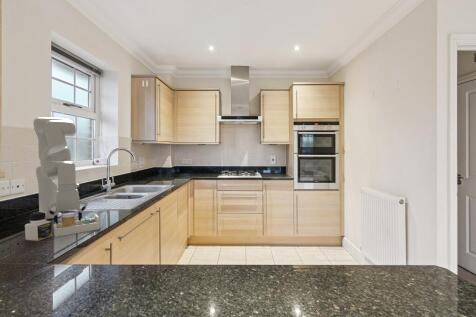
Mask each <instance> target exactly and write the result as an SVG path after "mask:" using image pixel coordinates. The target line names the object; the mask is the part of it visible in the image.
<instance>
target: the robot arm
mask: <svg viewBox="0 0 476 317" xmlns="http://www.w3.org/2000/svg"><path fill="white" fill-rule="evenodd" d="M32 122H33V124H32V126H33V129H34V132H35V134H36V136H37V137H36V138H37V141H38V143H37V145H38V159H39V162H40V165H38V166H37V167H36V168H35V175H36V180H37V185H38V206H39V207H38V208H39V211H43V212H46V220H49V219H53V222H54V223H55V224H58V223H59V222H58V221H59V217H61V215H62V214H63V213H62V212H69V211H74V210H77V212H78V213H77V214H78V218H77V219H78V220H79V221H81V220H83V219H82V218H83V212H84V211H85V210H86V209H87V206H88V202H87V201H83V200H80V195H79V194H80V193H79V190H78V188H79V187H80V183H77V180H76V174H77V172H76V164H75V163H74V162H72V161H71V159H72V157H71V155H72V154H71V150H70V148H69V147H68V142H67V140H66V137H73V136H75V135H76V131H77V129H76V126H75V122H73V121H72V120H70V119H69V118H64V117H61V118H60V117H47V116H43V117H41V116H40V117H36V118H34V120H33V121H32ZM54 181H57V184H56V183H55V182H54ZM81 205H83V206H82V207H81V208H80V206H81ZM39 211H38V212H39ZM78 220H77V221H78Z"/></svg>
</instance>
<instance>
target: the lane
mask: <svg viewBox="0 0 476 317" xmlns="http://www.w3.org/2000/svg"><path fill="white" fill-rule="evenodd" d="M93 219H95V222H94V223H88V224H85V220H84V219H81V221H79V220H75V226H69V227H62V222H58V224H56V223H53V234H54V237H61V236H67V235H73V234H74V235H75V234H79V233H85V232H92V231H97V230H100V229H101V227H100V216H99V215H98V214H97V213H94V214H93V217H92V218H89V220H93Z"/></svg>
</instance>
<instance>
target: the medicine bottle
mask: <svg viewBox="0 0 476 317" xmlns="http://www.w3.org/2000/svg"><path fill="white" fill-rule="evenodd" d="M24 231H25V232H24V233H25V236H24V237H25V240H26V241H35V242H39V241H41V240H44V239H47V238H50V237H52V236H53V234H52V233H53V232H52V221H51V220H47V219H46V212H43V211H33V212H31V213H30V214H29V223H26V224H25V225H24Z"/></svg>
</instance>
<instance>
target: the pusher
mask: <svg viewBox="0 0 476 317" xmlns="http://www.w3.org/2000/svg"><path fill="white" fill-rule="evenodd" d="M89 219H90V218H89V217H88V216H84V219H83V220H85V224H88V223H94V222H95V219H93V220H89Z"/></svg>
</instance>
